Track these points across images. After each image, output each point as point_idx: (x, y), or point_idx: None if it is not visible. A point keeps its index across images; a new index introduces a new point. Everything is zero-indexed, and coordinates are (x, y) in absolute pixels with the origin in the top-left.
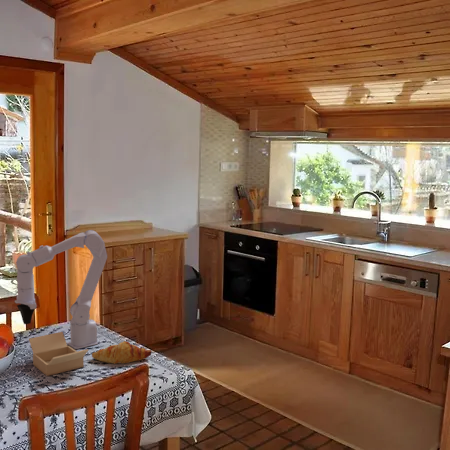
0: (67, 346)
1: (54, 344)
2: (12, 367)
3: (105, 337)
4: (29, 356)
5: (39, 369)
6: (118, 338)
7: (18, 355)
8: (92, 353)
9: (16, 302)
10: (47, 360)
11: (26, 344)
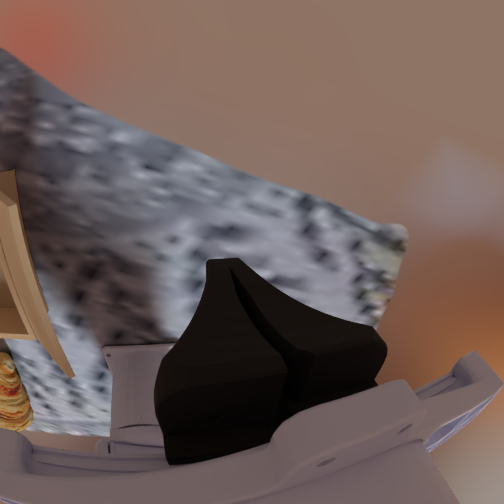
0: (30, 334)
1: (24, 303)
2: (36, 80)
3: None
4: (116, 180)
5: None
6: None
7: (162, 139)
8: (2, 362)
9: (297, 438)
10: None
11: (281, 219)
